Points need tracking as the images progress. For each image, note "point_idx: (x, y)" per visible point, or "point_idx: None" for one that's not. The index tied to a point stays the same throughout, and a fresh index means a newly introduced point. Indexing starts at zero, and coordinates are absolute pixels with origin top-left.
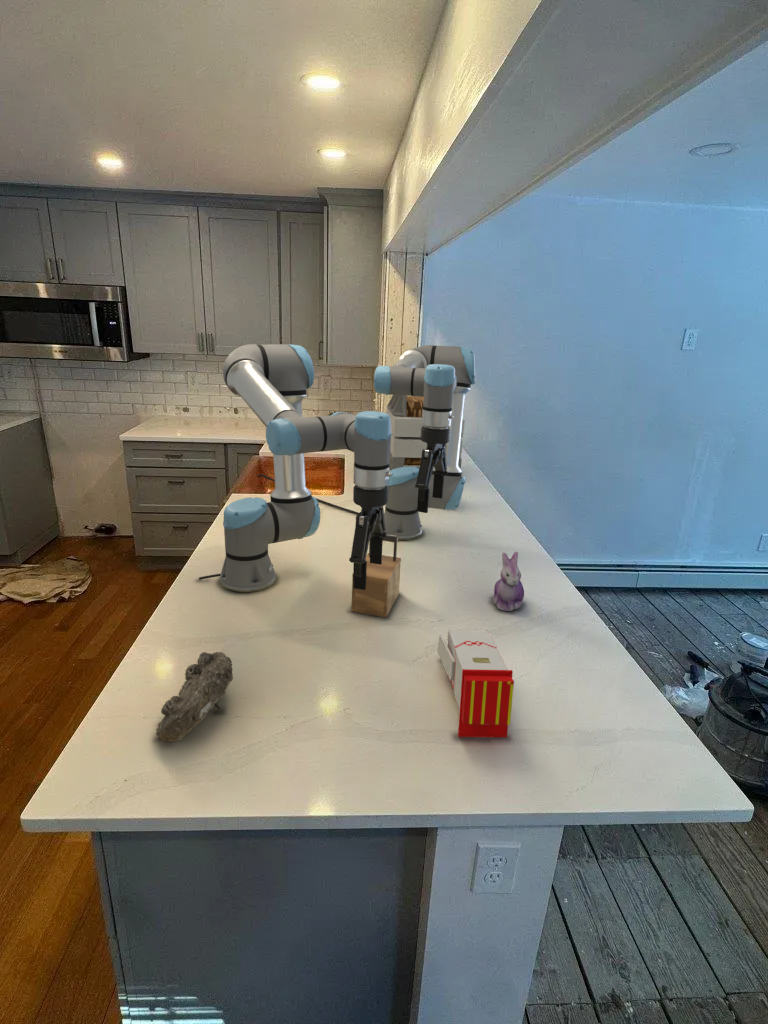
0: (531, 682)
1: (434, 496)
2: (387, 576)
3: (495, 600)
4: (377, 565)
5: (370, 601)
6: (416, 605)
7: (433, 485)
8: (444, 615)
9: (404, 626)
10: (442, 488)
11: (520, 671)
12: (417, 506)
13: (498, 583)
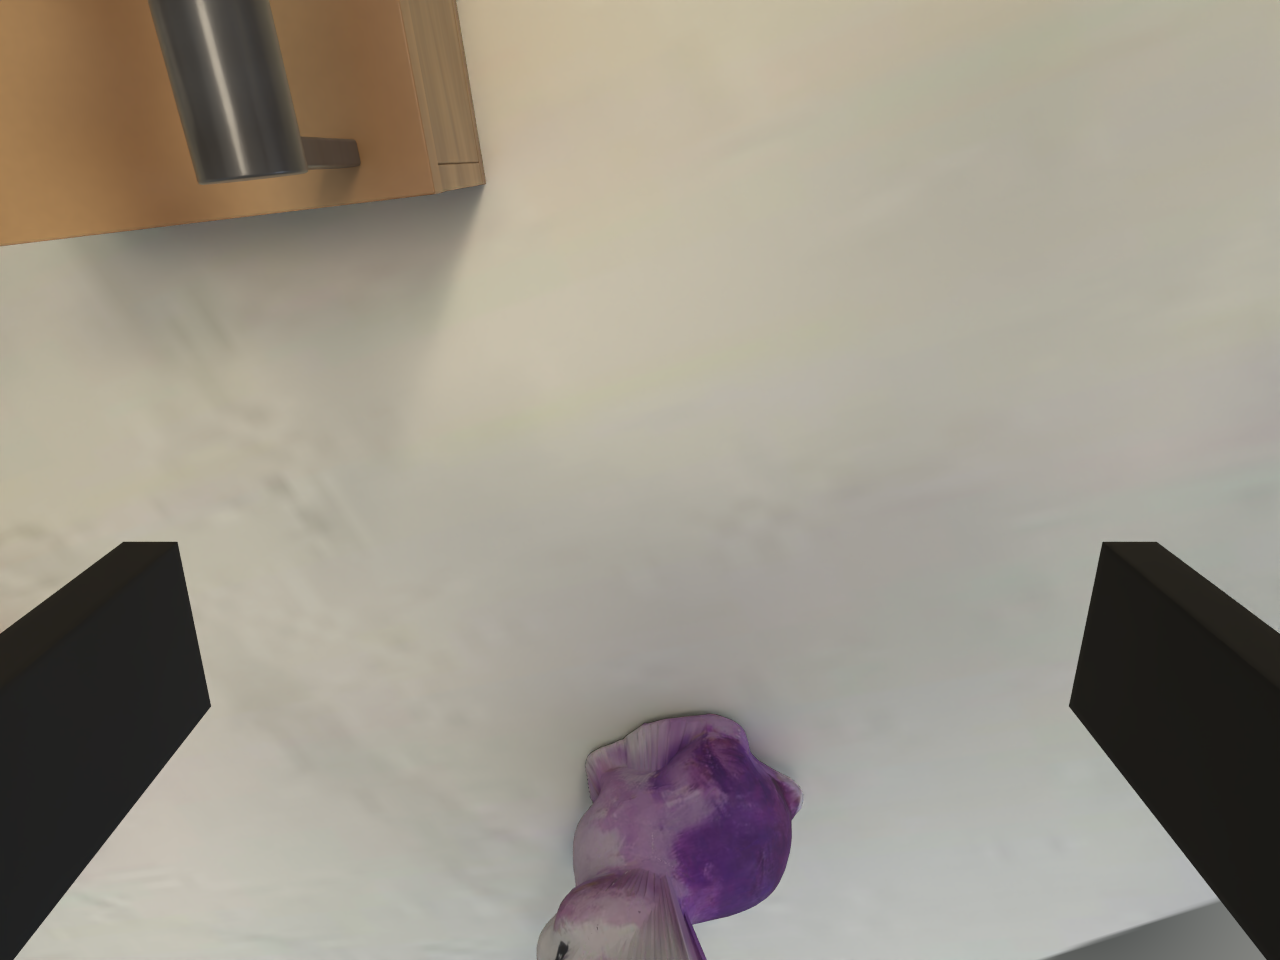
0: (84, 936)
1: (1106, 591)
2: (6, 222)
3: (634, 744)
4: (141, 36)
5: None
6: (403, 346)
7: (1269, 690)
8: (381, 526)
9: (136, 362)
10: (1194, 854)
11: (128, 897)
12: (58, 594)
13: (672, 807)
